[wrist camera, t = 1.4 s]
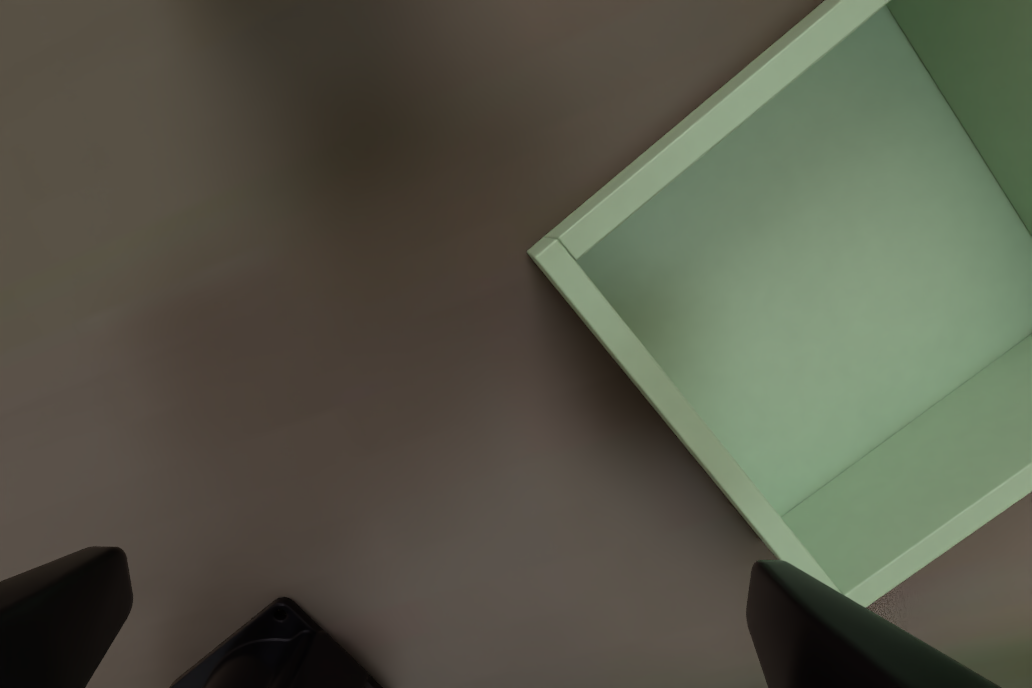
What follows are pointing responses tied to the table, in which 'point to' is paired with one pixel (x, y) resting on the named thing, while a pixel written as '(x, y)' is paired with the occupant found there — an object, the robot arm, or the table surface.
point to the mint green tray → (836, 283)
